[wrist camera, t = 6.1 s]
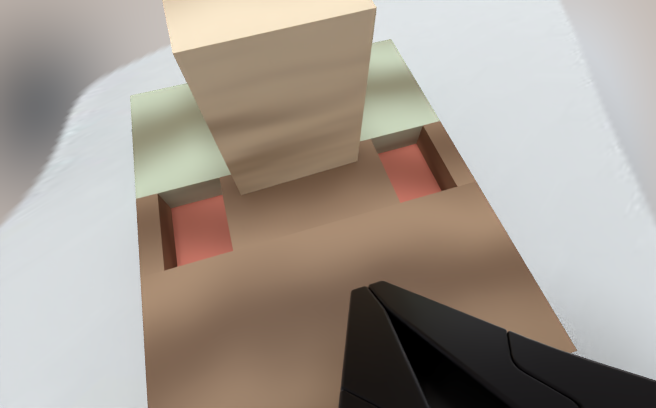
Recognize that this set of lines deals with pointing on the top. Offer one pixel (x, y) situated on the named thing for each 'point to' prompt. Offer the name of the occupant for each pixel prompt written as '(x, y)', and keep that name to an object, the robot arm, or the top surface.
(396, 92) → the board
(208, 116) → the maple block
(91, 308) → the top surface
